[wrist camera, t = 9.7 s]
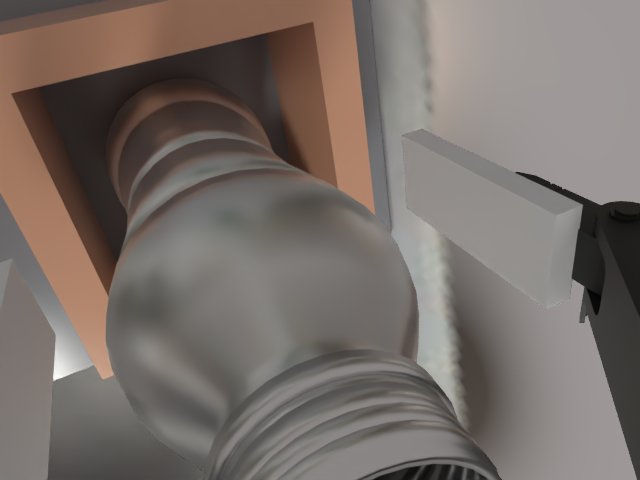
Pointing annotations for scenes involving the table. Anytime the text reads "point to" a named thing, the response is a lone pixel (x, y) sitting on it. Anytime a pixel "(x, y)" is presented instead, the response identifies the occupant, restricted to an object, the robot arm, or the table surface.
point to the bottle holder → (140, 72)
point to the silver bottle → (264, 308)
